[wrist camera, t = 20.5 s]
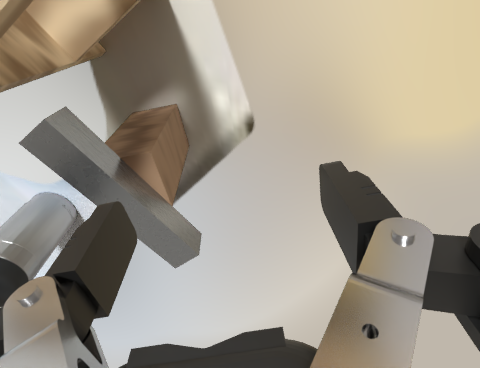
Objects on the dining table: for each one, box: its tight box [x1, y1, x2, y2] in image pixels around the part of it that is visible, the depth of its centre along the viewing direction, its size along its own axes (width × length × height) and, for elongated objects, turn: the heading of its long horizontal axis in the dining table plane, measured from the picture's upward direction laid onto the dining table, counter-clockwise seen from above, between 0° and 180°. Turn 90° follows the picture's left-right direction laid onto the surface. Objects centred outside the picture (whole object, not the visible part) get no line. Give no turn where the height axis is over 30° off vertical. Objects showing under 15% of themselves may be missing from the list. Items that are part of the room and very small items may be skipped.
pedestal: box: [105, 104, 189, 206], centre depth 43 cm, size 8×8×20 cm
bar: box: [19, 107, 201, 268], centre depth 33 cm, size 22×4×4 cm, turn 36°
